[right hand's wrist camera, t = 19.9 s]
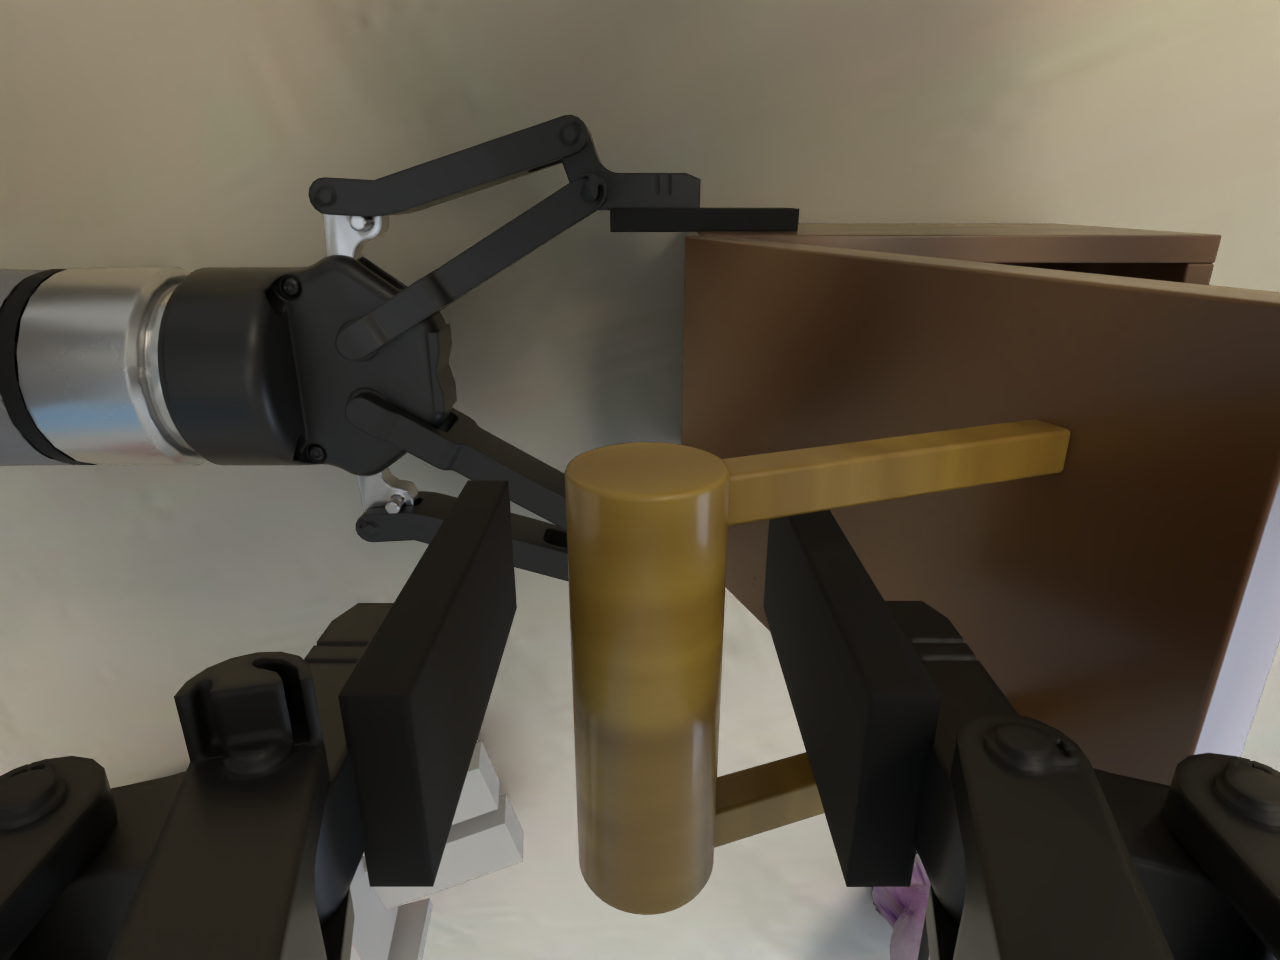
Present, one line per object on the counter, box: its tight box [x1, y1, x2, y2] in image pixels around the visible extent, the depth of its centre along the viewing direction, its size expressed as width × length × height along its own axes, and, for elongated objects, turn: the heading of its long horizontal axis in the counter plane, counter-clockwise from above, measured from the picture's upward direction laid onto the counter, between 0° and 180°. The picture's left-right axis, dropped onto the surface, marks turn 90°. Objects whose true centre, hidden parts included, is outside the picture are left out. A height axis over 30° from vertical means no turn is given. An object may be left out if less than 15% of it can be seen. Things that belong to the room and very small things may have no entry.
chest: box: [687, 224, 1221, 285], centre depth 30 cm, size 16×10×10 cm, turn 90°
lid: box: [565, 236, 1280, 915], centre depth 16 cm, size 17×10×9 cm
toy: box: [350, 741, 523, 960], centre depth 40 cm, size 12×13×30 cm
